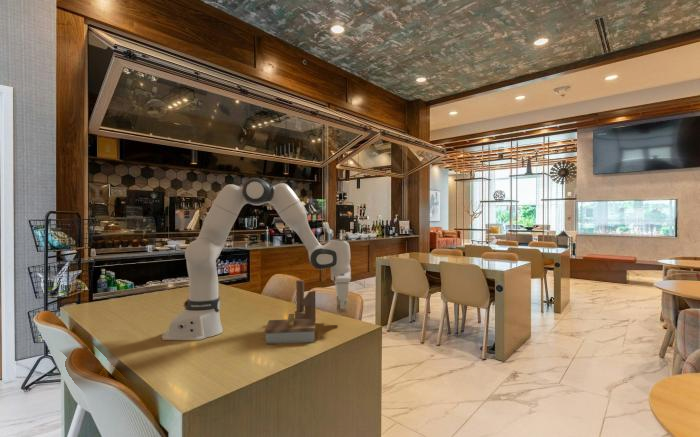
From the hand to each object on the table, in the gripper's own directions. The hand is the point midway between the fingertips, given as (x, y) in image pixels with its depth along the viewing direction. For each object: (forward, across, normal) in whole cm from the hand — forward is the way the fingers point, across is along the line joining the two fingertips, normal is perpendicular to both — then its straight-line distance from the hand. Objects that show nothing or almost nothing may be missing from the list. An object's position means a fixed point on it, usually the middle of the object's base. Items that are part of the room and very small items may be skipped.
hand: (341, 306), depth 152 cm
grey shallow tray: (+8, +15, -21) cm, 27 cm away
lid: (+3, +15, -21) cm, 26 cm away
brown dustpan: (+8, -8, -16) cm, 20 cm away
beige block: (+2, 0, 0) cm, 2 cm away
